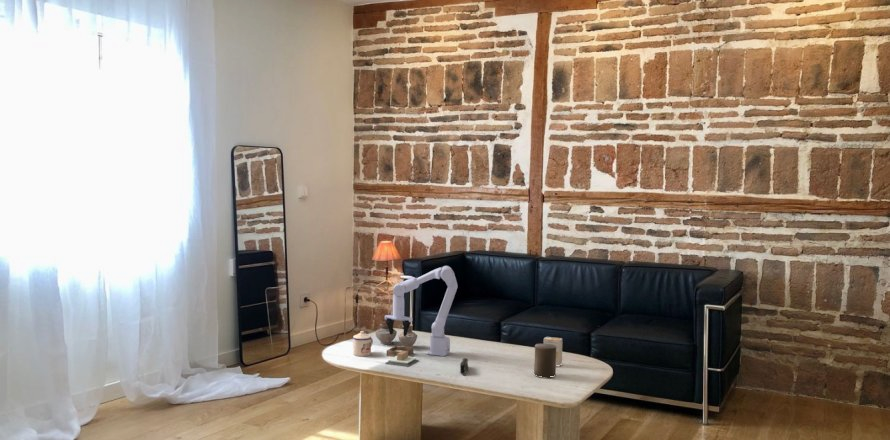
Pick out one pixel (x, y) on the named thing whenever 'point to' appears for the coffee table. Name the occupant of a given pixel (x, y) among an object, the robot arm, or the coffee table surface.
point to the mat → (402, 364)
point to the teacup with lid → (362, 344)
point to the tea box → (398, 350)
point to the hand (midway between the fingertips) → (398, 334)
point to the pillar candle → (545, 360)
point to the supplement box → (558, 344)
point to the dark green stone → (463, 366)
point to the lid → (402, 358)
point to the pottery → (387, 338)
